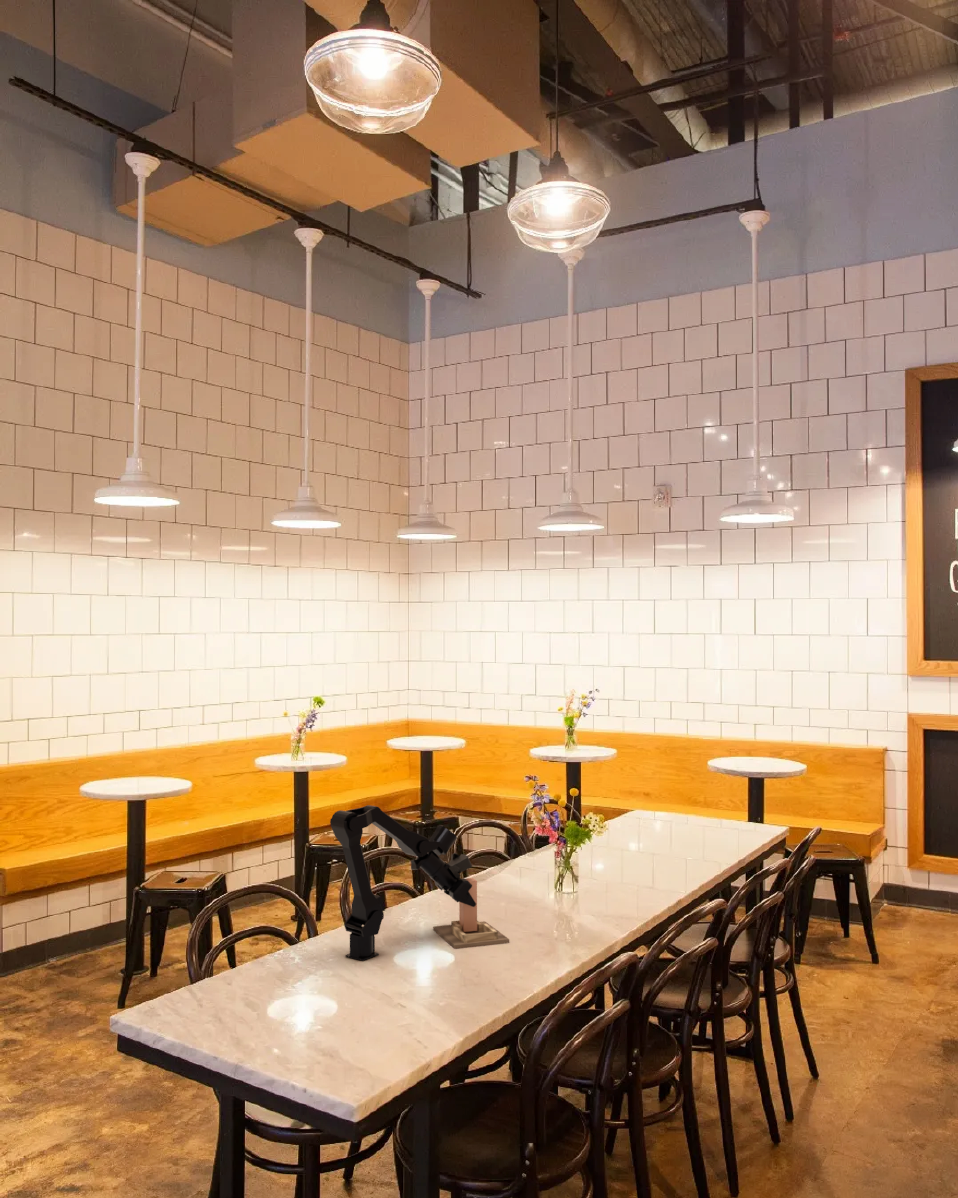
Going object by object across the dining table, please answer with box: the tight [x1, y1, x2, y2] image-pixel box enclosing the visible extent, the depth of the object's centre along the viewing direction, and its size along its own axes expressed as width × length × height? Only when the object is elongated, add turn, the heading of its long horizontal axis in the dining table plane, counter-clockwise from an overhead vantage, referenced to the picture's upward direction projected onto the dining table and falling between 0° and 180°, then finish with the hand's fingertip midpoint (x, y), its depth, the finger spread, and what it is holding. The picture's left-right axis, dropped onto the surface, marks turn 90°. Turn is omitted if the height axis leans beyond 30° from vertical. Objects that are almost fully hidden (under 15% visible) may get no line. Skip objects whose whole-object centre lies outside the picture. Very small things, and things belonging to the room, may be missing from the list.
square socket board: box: [432, 920, 510, 950], centre depth 286 cm, size 20×16×3 cm
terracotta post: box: [458, 877, 478, 932], centre depth 288 cm, size 4×4×14 cm
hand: (472, 904), depth 288 cm, fingers closed on terracotta post, 4 cm apart
